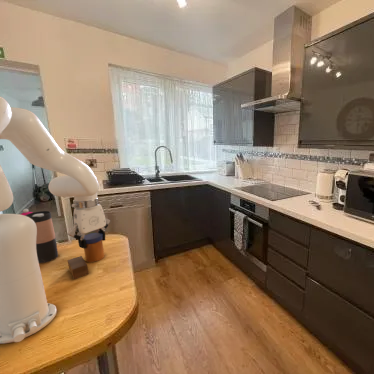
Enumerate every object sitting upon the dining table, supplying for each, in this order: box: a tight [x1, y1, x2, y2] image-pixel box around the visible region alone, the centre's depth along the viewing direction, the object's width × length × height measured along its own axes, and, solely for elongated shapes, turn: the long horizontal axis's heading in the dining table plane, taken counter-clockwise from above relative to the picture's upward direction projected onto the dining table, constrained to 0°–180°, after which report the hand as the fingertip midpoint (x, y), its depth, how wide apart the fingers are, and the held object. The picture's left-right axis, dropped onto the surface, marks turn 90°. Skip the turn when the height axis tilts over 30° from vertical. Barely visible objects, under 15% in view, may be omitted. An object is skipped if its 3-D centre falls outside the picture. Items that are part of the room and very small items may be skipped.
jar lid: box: [84, 232, 103, 244], centre depth 91 cm, size 7×7×2 cm
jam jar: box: [83, 240, 105, 263], centre depth 92 cm, size 7×7×10 cm
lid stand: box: [67, 255, 90, 280], centre depth 82 cm, size 9×4×4 cm, turn 48°
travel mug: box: [25, 210, 59, 264], centre depth 89 cm, size 8×8×20 cm
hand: (93, 243), depth 91 cm, fingers closed on jar lid, 7 cm apart
